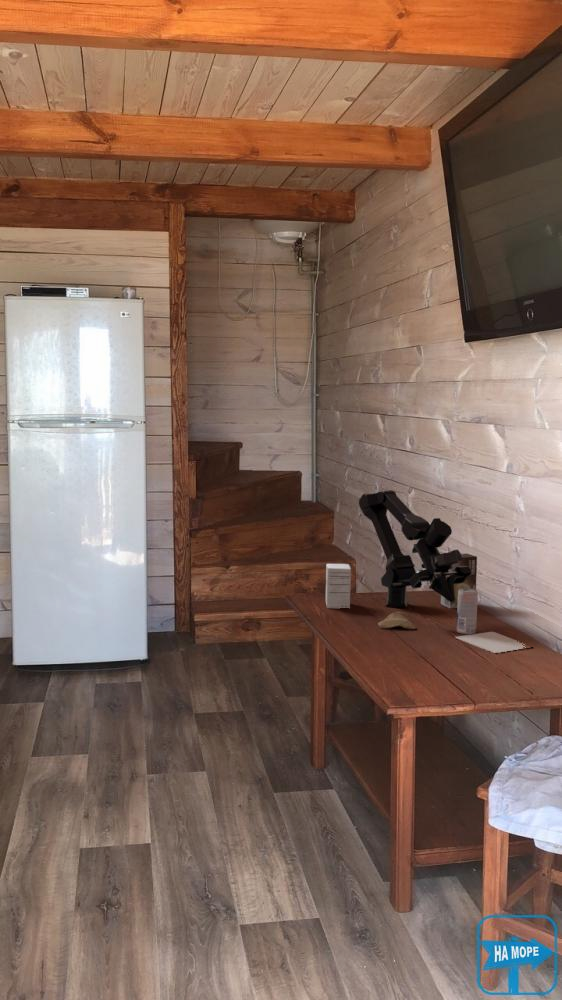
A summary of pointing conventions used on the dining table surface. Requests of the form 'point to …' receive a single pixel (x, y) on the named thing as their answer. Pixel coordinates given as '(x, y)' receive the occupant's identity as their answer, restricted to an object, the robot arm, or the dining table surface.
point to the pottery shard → (397, 621)
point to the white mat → (492, 642)
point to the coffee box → (468, 583)
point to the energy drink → (467, 611)
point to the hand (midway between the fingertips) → (453, 601)
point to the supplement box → (338, 585)
